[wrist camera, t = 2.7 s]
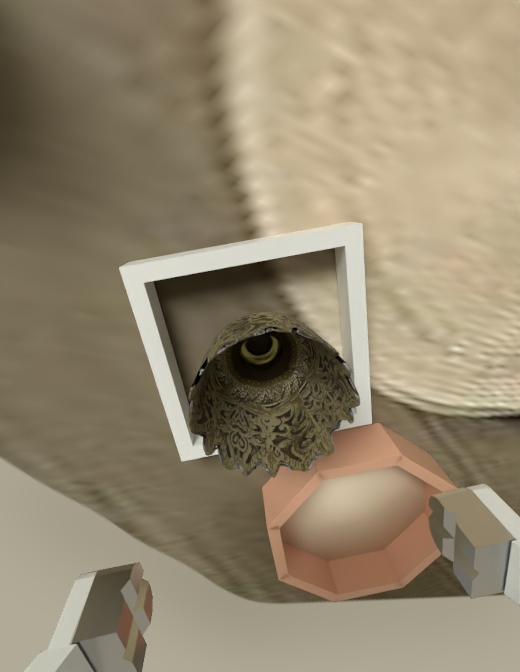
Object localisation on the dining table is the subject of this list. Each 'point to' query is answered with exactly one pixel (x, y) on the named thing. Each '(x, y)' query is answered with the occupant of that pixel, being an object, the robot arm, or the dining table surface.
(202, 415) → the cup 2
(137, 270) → the open white square frame
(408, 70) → the dining table surface
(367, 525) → the bowl
